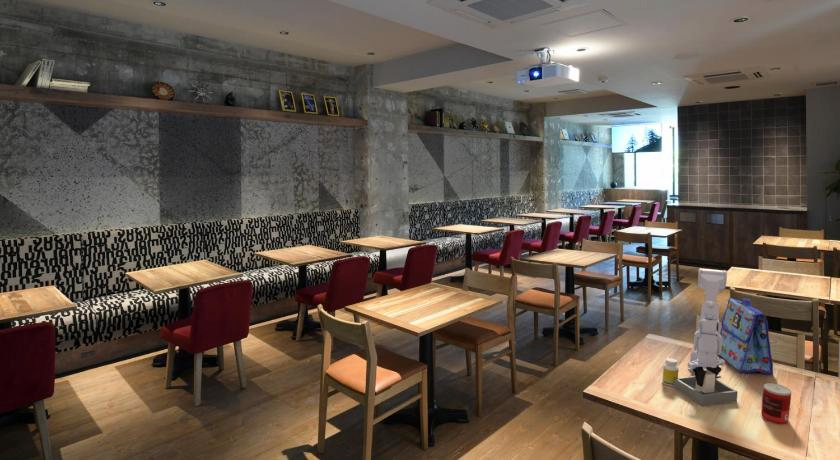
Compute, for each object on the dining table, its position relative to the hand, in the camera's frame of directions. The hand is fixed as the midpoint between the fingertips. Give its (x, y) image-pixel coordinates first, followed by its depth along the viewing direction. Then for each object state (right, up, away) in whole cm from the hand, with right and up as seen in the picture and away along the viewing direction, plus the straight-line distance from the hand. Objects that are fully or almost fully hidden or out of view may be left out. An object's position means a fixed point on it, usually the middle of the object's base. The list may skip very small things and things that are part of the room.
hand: (704, 384), depth 183 cm
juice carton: (0, -2, 0) cm, 2 cm away
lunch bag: (+33, 0, +27) cm, 42 cm away
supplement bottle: (-8, -3, +10) cm, 13 cm away
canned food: (+14, -6, -17) cm, 23 cm away
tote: (0, -4, +1) cm, 4 cm away
